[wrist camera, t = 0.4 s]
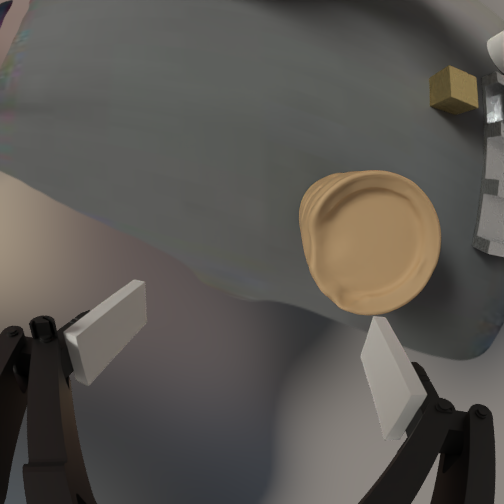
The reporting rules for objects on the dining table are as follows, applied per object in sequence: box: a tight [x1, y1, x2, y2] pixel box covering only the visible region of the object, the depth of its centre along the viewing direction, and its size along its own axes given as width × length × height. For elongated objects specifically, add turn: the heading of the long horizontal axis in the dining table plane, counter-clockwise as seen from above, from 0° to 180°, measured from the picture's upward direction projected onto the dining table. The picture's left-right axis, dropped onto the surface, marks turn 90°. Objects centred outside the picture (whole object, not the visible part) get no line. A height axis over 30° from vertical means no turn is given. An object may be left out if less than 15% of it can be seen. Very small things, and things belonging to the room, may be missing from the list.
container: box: [299, 170, 441, 315], centre depth 31 cm, size 13×13×18 cm
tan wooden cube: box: [429, 65, 478, 115], centre depth 29 cm, size 5×5×7 cm
